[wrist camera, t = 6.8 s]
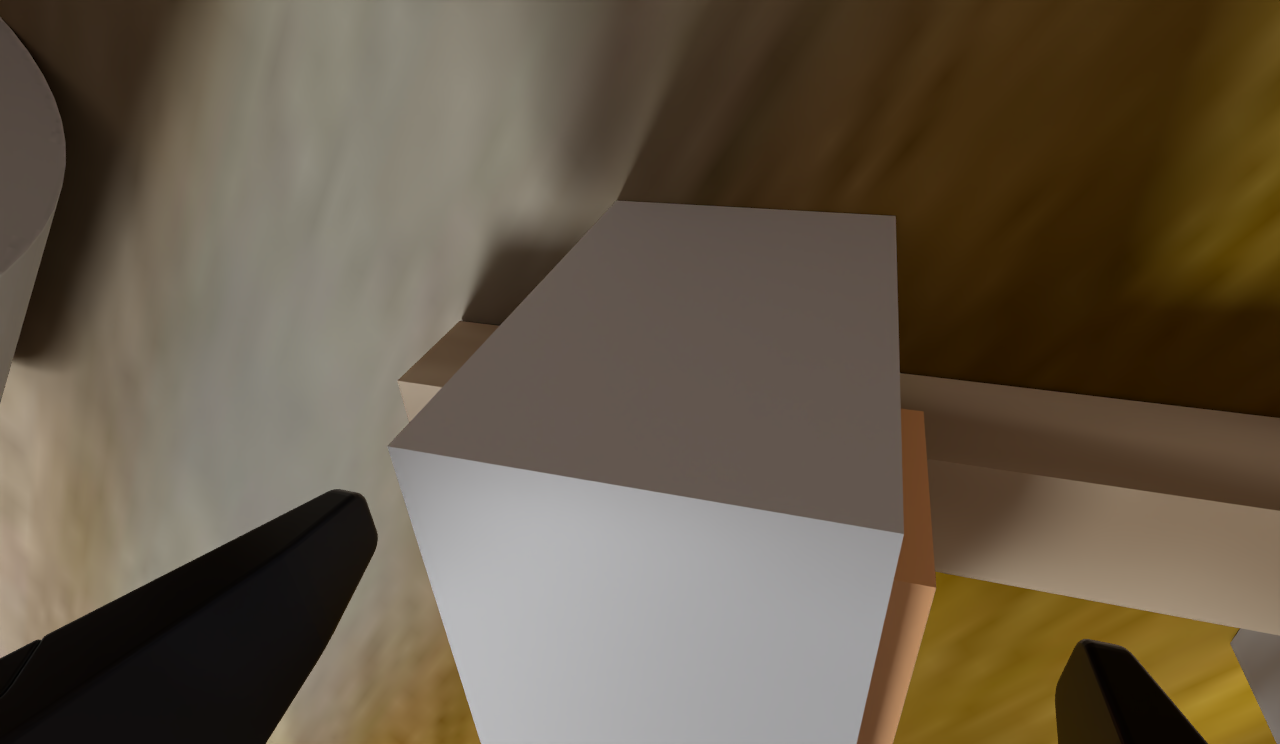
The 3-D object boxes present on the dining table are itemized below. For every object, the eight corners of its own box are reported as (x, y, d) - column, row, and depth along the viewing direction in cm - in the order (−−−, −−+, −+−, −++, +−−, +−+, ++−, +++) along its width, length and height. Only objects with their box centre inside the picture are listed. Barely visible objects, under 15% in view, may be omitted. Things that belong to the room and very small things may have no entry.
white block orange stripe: (860, 572, 13) (845, 954, 8) (638, 531, 14) (512, 845, 9) (926, 217, 9) (968, 545, 4) (616, 200, 10) (387, 446, 6)
